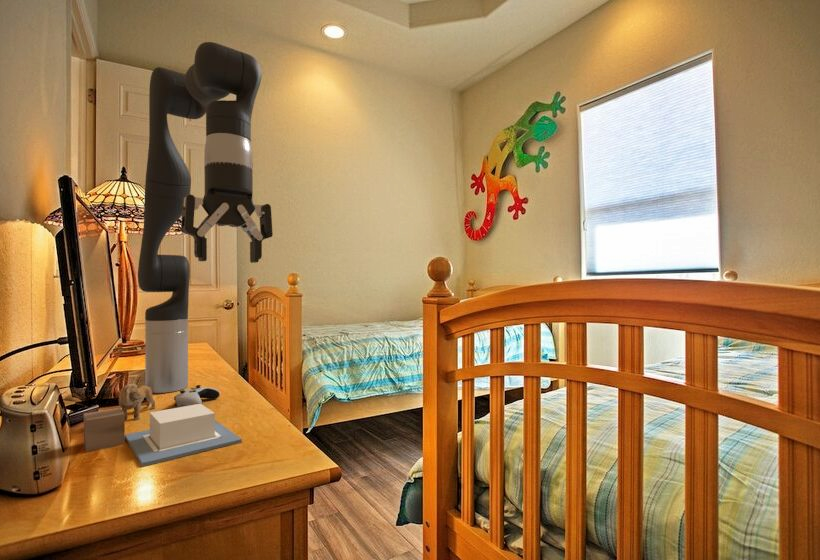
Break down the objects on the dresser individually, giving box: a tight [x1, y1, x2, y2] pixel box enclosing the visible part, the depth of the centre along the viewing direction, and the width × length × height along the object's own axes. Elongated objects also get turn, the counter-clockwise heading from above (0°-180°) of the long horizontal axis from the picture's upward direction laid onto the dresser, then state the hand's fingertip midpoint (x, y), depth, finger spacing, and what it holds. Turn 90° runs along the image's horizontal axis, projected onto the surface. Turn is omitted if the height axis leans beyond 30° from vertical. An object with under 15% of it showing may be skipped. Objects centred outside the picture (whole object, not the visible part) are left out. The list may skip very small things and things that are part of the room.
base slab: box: [149, 403, 216, 450], centre depth 71 cm, size 8×8×4 cm
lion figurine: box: [117, 383, 156, 422], centre depth 85 cm, size 12×4×7 cm, turn 16°
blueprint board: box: [125, 419, 243, 467], centre depth 71 cm, size 16×14×1 cm
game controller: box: [173, 384, 221, 408], centre depth 92 cm, size 10×5×6 cm
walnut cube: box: [83, 407, 126, 453], centre depth 70 cm, size 5×5×5 cm
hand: (229, 261), depth 72 cm, fingers open, 8 cm apart
